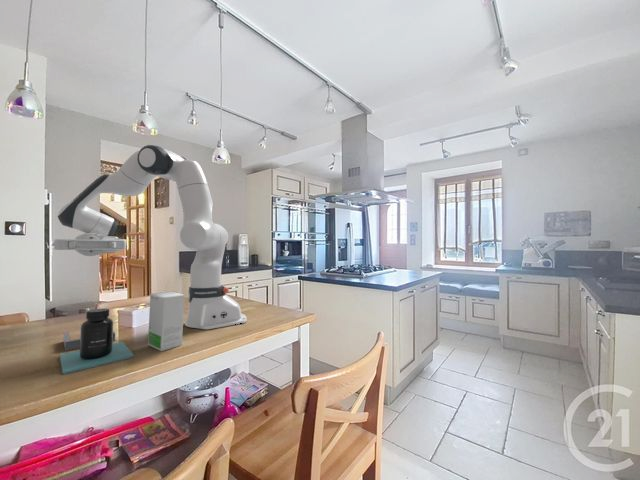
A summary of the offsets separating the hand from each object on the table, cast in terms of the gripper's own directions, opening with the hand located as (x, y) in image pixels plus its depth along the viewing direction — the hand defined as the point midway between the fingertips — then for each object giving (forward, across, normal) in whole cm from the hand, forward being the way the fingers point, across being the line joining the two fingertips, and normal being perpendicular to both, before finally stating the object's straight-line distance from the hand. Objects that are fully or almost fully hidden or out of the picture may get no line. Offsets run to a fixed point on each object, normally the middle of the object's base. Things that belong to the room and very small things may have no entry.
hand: (94, 244), depth 95 cm
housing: (+11, -2, +30) cm, 32 cm away
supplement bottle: (+28, -2, +30) cm, 41 cm away
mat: (+28, -2, +30) cm, 41 cm away
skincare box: (+32, +14, +30) cm, 46 cm away
